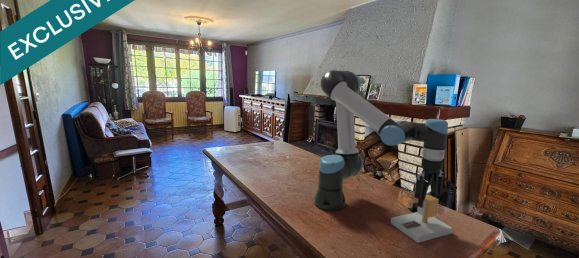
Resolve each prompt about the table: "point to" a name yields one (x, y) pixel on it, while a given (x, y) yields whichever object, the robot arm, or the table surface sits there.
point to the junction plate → (421, 226)
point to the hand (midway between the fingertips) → (426, 212)
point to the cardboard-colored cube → (431, 206)
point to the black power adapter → (414, 208)
